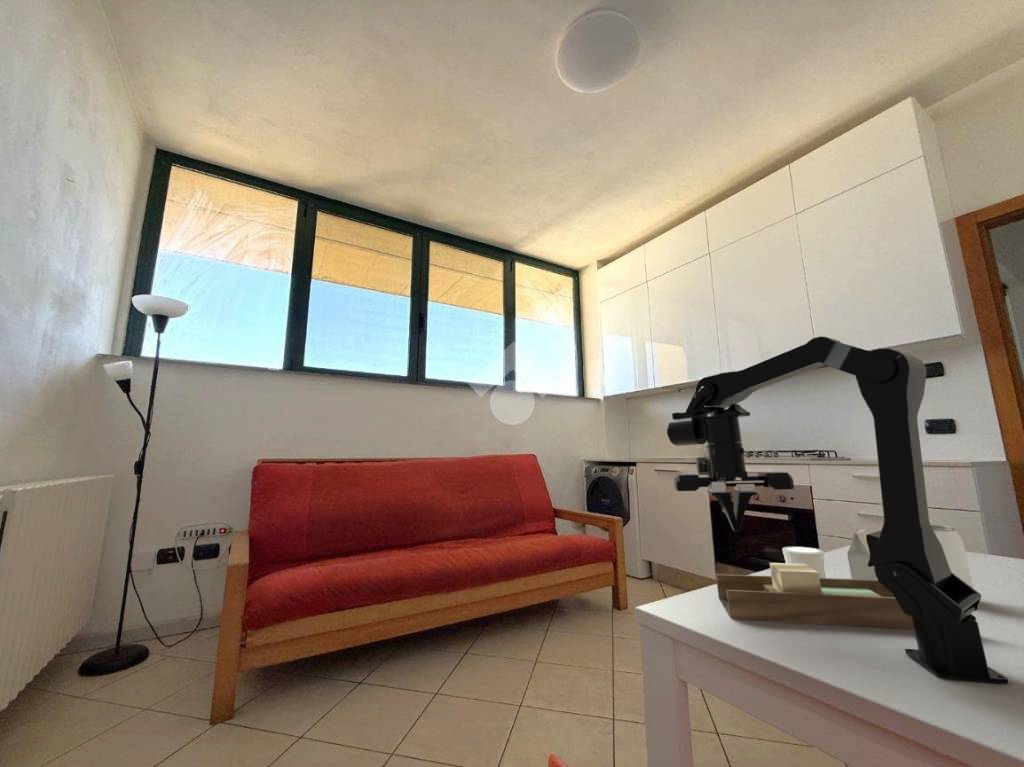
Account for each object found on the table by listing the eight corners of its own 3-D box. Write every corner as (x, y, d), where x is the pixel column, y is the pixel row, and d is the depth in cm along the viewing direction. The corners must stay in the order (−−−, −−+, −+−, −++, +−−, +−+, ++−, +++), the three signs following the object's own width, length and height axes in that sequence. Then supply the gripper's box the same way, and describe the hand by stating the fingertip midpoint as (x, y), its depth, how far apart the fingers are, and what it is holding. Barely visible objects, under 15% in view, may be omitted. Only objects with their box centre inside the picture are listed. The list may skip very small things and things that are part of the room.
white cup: (815, 581, 83) (809, 545, 85) (838, 592, 77) (831, 552, 78) (780, 581, 84) (775, 546, 85) (800, 592, 77) (794, 553, 79)
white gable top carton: (852, 585, 80) (843, 532, 82) (863, 578, 84) (854, 527, 86) (877, 589, 78) (866, 534, 79) (886, 582, 81) (876, 529, 83)
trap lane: (965, 633, 58) (958, 601, 59) (730, 618, 66) (727, 590, 67) (919, 608, 68) (913, 581, 68) (718, 598, 76) (715, 574, 77)
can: (976, 608, 67) (958, 531, 69) (921, 599, 72) (906, 527, 74) (978, 598, 71) (961, 526, 73) (925, 590, 76) (911, 523, 78)
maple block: (822, 598, 65) (818, 572, 66) (783, 597, 67) (779, 571, 68) (808, 588, 70) (804, 563, 71) (773, 586, 72) (769, 562, 73)
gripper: (767, 442, 81) (780, 524, 78) (667, 446, 86) (676, 523, 83) (787, 440, 70) (803, 535, 67) (672, 445, 75) (682, 533, 72)
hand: (736, 531), depth 73 cm, fingers closed
